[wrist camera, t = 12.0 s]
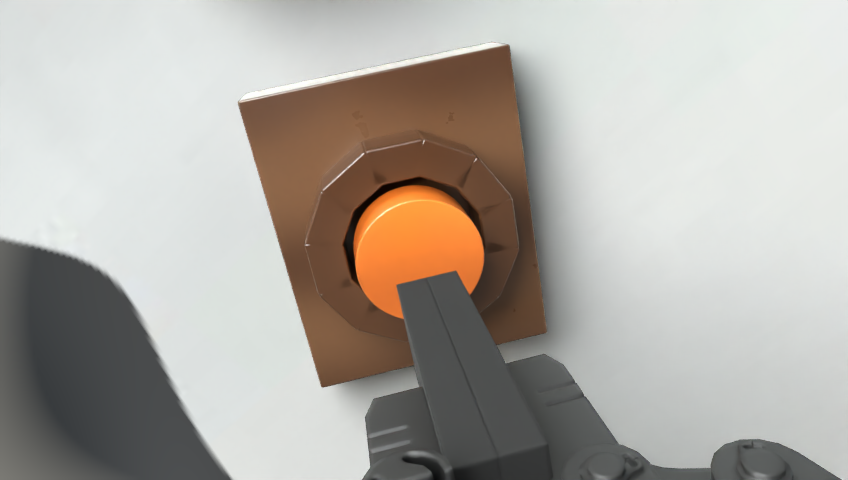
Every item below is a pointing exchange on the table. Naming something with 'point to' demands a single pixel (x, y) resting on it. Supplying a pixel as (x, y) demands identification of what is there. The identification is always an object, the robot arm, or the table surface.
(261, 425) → the table surface
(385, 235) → the button
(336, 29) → the table surface
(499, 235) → the button block
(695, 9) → the table surface
